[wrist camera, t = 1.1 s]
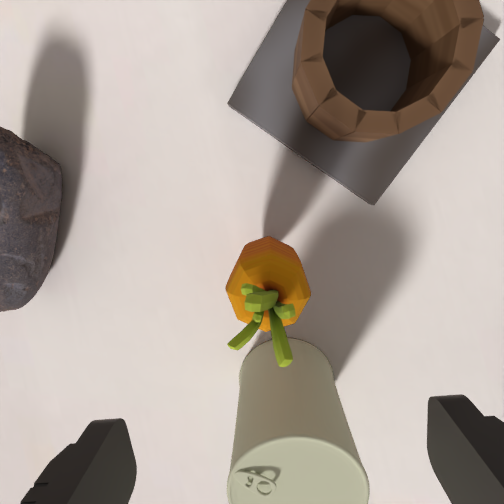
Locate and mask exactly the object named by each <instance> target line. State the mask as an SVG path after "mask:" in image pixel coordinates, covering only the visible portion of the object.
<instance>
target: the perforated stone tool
mask: <svg viewBox="0 0 504 504" xmlns="http://www.w3.org/2000/svg"><path fill="white" fill-rule="evenodd" d="M61 188H62V174H61V167H60V165H59V163H57V162H56V161H54V160H53V159H52V158H51V157H49V156H48V155H46V154H44V153H43V152H42V151H40V150H39V149H37V148H36V147H34V146H33V145H32V144H30V143H29V142H27V141H24V140H22V139H21V138H19V137H18V136H17V135H15V134H14V133H13V132H12V131H9V130H6V129H4V128H2V127H0V312H1V311H3V312H4V311H7V310H16V309H19V308H21V307H23V306H24V305H26V304H27V303H28V302H29V301H30V300H31V299H32V298H33V297H34V296H35V294H36V293H37V291H38V290H39V289H40V287H41V286H42V284H43V282H44V280H45V278H46V276H47V274H48V271H49V269H50V266H51V263H52V259H53V254H54V249H55V243H56V237H57V230H58V223H59V216H60V208H61V203H60V202H61V199H62V193H61Z"/></svg>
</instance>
